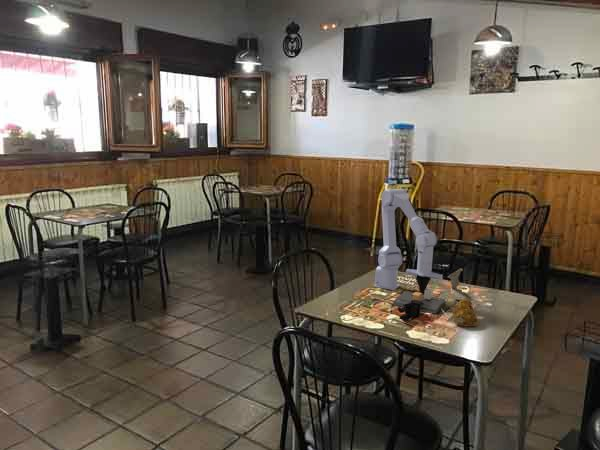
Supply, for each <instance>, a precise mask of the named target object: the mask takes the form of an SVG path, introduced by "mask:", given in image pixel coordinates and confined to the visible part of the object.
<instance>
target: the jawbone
mask: <svg viewBox="0 0 600 450" xmlns="http://www.w3.org/2000/svg"><path fill="white" fill-rule="evenodd" d="M463 271H464V269H463V268H459V269H457V270H456V271H454V272H452V273H451V274H449V275H448V276H447V278H448V279H450V285H451V291H452V292H453V295H454V300H456V301H457V300H459V301H460V300H463V299H467V300H469V302H471V301H472V299H473V298H472V297H468V296H466V295H465V294H463V290H462V289H461V288H457V287H459V285H460V281H459V277H460V275H461V272H463Z"/></svg>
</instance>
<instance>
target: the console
mask: <svg viewBox="0 0 600 450" xmlns="http://www.w3.org/2000/svg"><path fill="white" fill-rule="evenodd" d="M414 293H415V292H411V291H404V292H402V293H401V294H400V295H399V296H398V297H396V298H395V299H394V300H393V301H392V306H397V307H400V308H403V307H404V304H408V303H409V302H410V303H411V300H412V298H413V294H414ZM445 303H446V299H445V298H443V297H436V296H433V297H432V298H431V299H430V300H429V299H424V295H422V298H421V312H426V313H430V314H434V315H436V314H437V312H439V310H440V309H441V308H442V306H444V304H445Z"/></svg>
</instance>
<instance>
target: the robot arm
mask: <svg viewBox="0 0 600 450" xmlns="http://www.w3.org/2000/svg"><path fill="white" fill-rule="evenodd" d="M397 208H400V209H401V210H402V212H403V213H404V215H405V216H406V217H407V218H408V220H409V223H408V224H409V225H408V226H409V227H410V229H411V230H412V232H413V234H414V235H415V237H416V239H415V243H416V247H417V266H416V269H413V268H412V269H411V268H410V269H409V268H407V269H406V270H405V275H406V276H407V275H408V276H410V275H411V276H415V281H416V282H417V285H418V289H419V293H422V295H424V292H425V289H426V288H428V284H429V283H430V281H431V280H432V279H434V280H438V281H442V280H443V274H441V273H436V272H433V271H432V270H433V269H432V268H433V256H434V255H433V254H434V247H435V246H436V245H437V244H438V237H437V235H436V233H435V231H434V232H433V231H432V230H431V229H429V228H428V226H427V224H426V223H425V220H424V219H423V218H422V217H419V216H418V215H417V213H416V212H415V209H414V208H413V206H412V204H411V202H410V195H409V193H408V190H406V188H396V189H395V188H393V189H392V188H390V189H389V188H387V189H384V190H383V192H382V193H381V218H382V237H383V238H382V239H383V246H382V247H381V248H380V249H379V251H378V257H377V258H378V259H377V262H378V265H377V267H376V268H375V273H374V275H375V276H374V284H373V287H375V288H380V289H386V290H392V291H395V290H397V289H398V288H399V287H400V286H401V284H399V283H398V272H399V268H400V266H401V265H402V263H403V255H402V252H401V249H400V247H398V246H397V236H396V235H397V234H396V233H397V232H396V219H395V217H396V215H395V210H396V209H397Z"/></svg>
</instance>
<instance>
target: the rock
mask: <svg viewBox="0 0 600 450" xmlns="http://www.w3.org/2000/svg"><path fill="white" fill-rule="evenodd" d="M452 314H453V315H452V316H453V322H454V323H455V324H456V325H457V326H463V327H476V326H477V325H478V324H479V320H478V317H477V314H476V311H475V309H474V307H473V305H472V303H471V301H470V300H467V299H463V300H459V301H458V303H456V305H455V306H454V307H453V309H452Z"/></svg>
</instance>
